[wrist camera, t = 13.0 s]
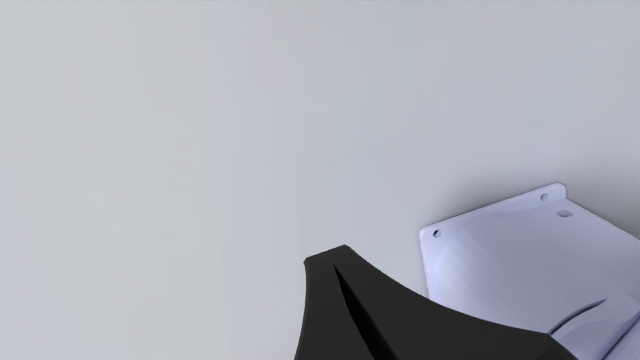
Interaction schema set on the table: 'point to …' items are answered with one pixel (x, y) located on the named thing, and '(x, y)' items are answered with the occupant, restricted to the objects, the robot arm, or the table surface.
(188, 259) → the table surface
